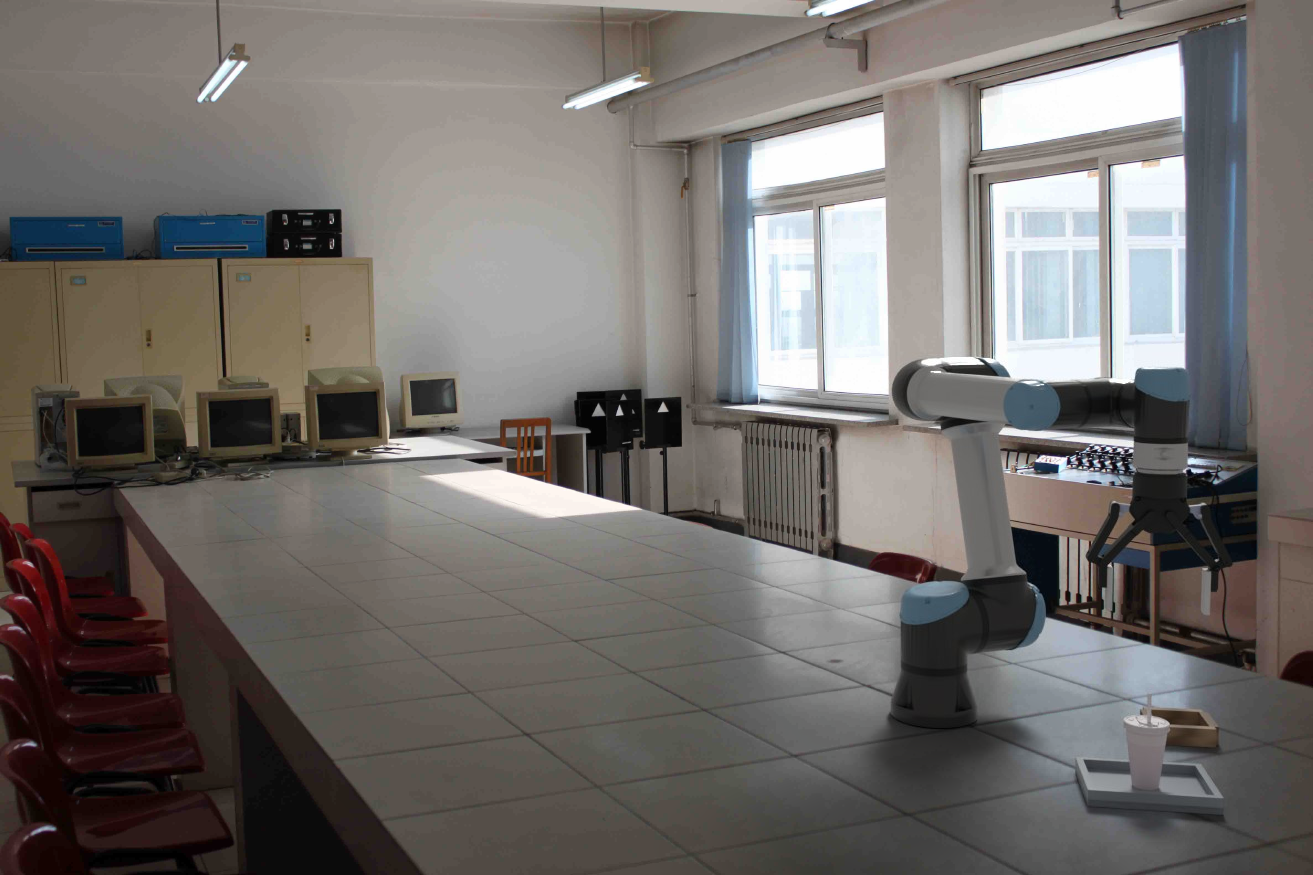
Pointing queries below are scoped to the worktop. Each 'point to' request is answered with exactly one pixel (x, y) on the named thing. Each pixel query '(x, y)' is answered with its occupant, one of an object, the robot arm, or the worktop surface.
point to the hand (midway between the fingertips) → (1156, 611)
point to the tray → (1176, 793)
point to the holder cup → (1187, 726)
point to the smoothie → (1146, 747)
